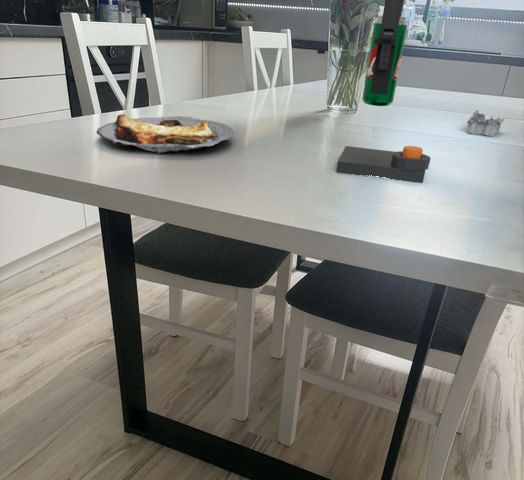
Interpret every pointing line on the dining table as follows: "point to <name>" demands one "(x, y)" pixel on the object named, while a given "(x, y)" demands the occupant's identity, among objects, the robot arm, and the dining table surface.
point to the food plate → (165, 133)
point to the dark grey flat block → (382, 164)
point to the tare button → (412, 152)
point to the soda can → (383, 98)
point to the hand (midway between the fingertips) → (379, 91)
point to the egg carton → (483, 125)
